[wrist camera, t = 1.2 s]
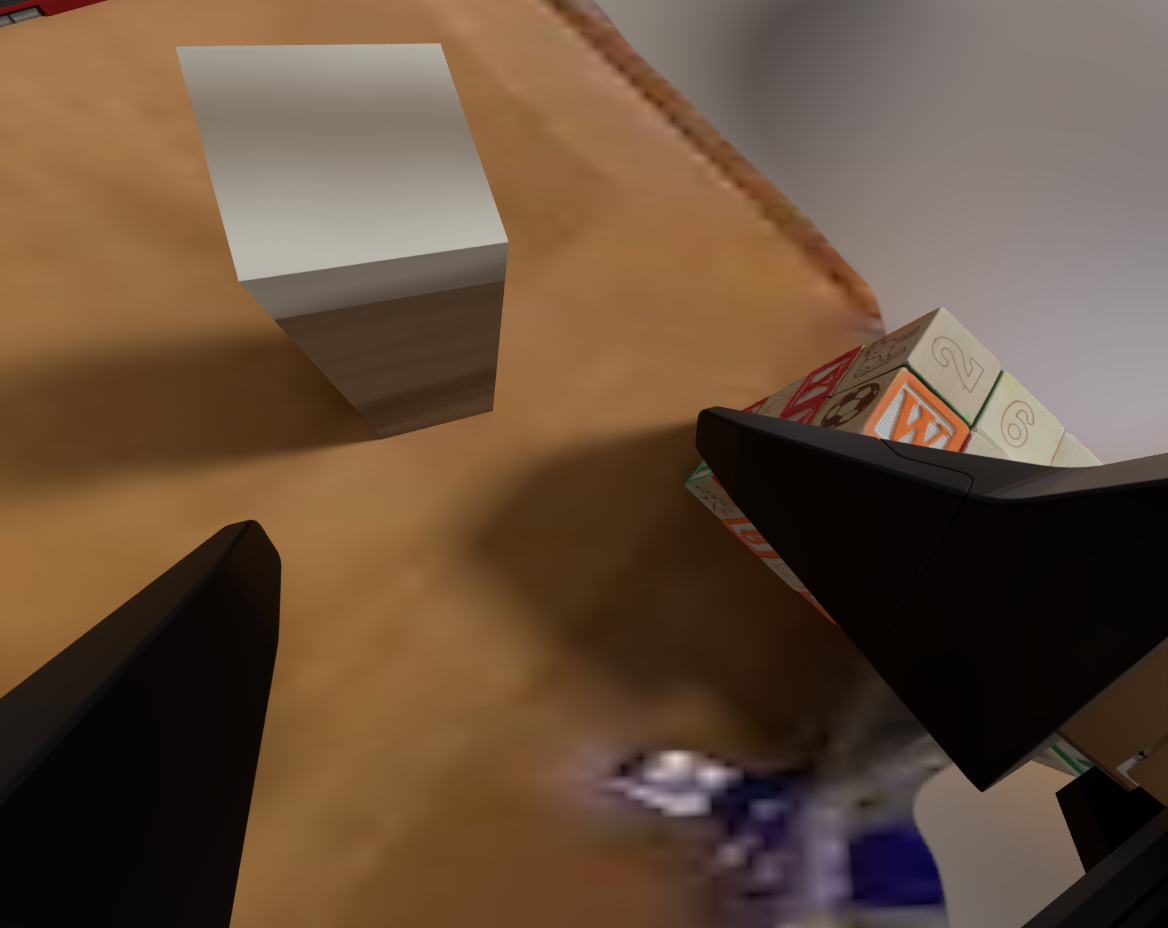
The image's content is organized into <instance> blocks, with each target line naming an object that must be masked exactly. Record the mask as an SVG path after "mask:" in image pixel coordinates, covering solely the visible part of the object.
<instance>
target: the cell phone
mask: <svg viewBox="0 0 1168 928" xmlns="http://www.w3.org/2000/svg"><path fill="white" fill-rule="evenodd" d="M102 1H106V0H0V27H3V26H7V25H10V24H14V23H18V22H21V21H25V20H28V19H32V18H36V17H39V16H43V15H47V16H52V15H55V14H59V13H63V12H66V11H70V10H73V9H77V8H81V7H84V6H88V5H91V4H95V3H98V2H102Z"/></svg>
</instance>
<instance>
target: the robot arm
mask: <svg viewBox="0 0 1168 928" xmlns="http://www.w3.org/2000/svg"><path fill="white" fill-rule="evenodd" d="M695 442H696V448H697V450H698V452H699V453H700V455H701V456H702V458H703V459H704V461H705V462H706V464H707V465H708V467H709V468H710V470H711V471H712V473H713V474H714V476H715V477H716V479H717V480H718V481H719V483H720V484H721V486H722V487H723V489H724V490H725V492H726V493H727V494H728V496H729V497H730V499H731V500H732V501H733V502H734V503H735V505H736V506H737V507H738V508H739V509H740V511H741V512H742V513H743V514H744V515H745V517H746V518H747V519H748V520H749V521H750V522H751V524H752V525H753V526H754V527H755V528H756V530H757V531H758V532H759V533H760V534H761V535H762V537H763V538H764V539H765V540H766V541H767V542H768V544H769V545H770V546H771V547H772V548H773V550H774V551H775V552H776V553H777V554H778V555H779V557H780V558H781V559H782V560H783V561H784V562H785V564H786V565H787V566H788V567H789V568H790V570H791V571H792V572H793V573H794V574H795V575H796V577H797V578H798V579H799V580H800V581H801V582H802V584H803V585H804V586H805V587H806V588H807V590H808V591H809V592H810V593H811V594H812V595H813V597H814V598H815V599H816V600H817V601H818V603H819V604H820V605H821V606H822V607H823V608H824V610H825V611H826V612H827V613H828V614H829V615H830V617H831V618H832V619H833V620H834V621H835V623H836V624H837V625H838V626H839V627H840V628H841V630H842V631H843V632H844V633H845V634H846V635H847V637H848V638H849V639H850V640H851V641H852V643H853V644H854V645H855V646H856V647H857V648H858V650H859V651H860V652H861V653H862V654H863V655H864V657H865V658H866V659H867V660H868V661H869V662H871V665H872V666H873V668H874V669H875V670H876V671H877V672H878V674H879V675H880V676H881V677H882V678H883V679H884V681H885V682H886V683H887V684H888V685H889V687H890V688H891V689H892V690H893V691H894V692H895V694H896V695H897V696H898V697H899V698H900V700H901V701H902V702H903V703H904V704H905V705H906V707H907V708H908V709H909V710H910V711H911V712H912V714H913V715H914V716H915V717H916V718H917V720H918V721H919V722H920V723H921V724H922V725H923V727H924V728H925V729H926V730H927V731H928V733H929V734H930V735H931V736H932V737H933V738H934V740H935V741H936V742H937V743H938V744H939V745H940V747H941V748H942V749H943V750H944V751H945V753H946V754H947V755H948V756H949V757H950V758H951V760H952V761H953V762H954V763H955V764H956V766H957V767H958V768H959V769H960V770H961V771H962V772H963V774H964V775H965V776H966V777H967V778H968V779H969V780H970V782H971V783H972V784H973V785H974V786H975V787H976V788H977V789H978V790H980V791H981V792H984V791H986V790H987V789H989V788H990V787H992V786H993V785H995V784H996V783H998V782H999V781H1001V780H1002V779H1004V778H1005V777H1007V776H1008V775H1010V774H1011V773H1013V772H1014V771H1016V770H1017V769H1019V768H1020V767H1022V766H1023V765H1025V764H1026V763H1028V762H1029V761H1031V760H1032V759H1034V758H1035V757H1037V756H1038V755H1040V754H1041V753H1043V752H1044V751H1046V750H1047V749H1049V748H1050V747H1051V746H1053V745H1054V744H1056V743H1057V742H1059V741H1060V740H1062V739H1063V740H1065V741H1066V742H1067V743H1068V744H1069V745H1071V746H1072V747H1073V748H1074V749H1076V750H1077V751H1078V752H1079V753H1081V754H1082V755H1083V756H1084V757H1085V758H1087V759H1088V760H1089V761H1090V762H1092V763H1093V764H1094V766H1092V767H1091V768H1090V769H1088V770H1087V771H1085V772H1084V773H1083V774H1081V775H1080V776H1079V777H1077V778H1076V779H1074V780H1073V781H1072V782H1070V783H1069V784H1067V785H1066V786H1065V787H1063V788H1062V789H1061V790H1059V791H1058V792H1056V793H1055V794H1056V796H1057V799H1058V802H1059V805H1060V807H1061V810H1062V812H1063V815H1064V817H1065V820H1066V823H1067V826H1068V828H1069V831H1070V833H1071V836H1072V839H1073V841H1074V844H1075V846H1076V849H1077V852H1078V854H1079V857H1080V860H1081V862H1082V865H1083V867H1084V870H1085V872H1086V874H1085V875H1084V876H1083V877H1082V878H1080V879H1079V880H1078V881H1077V882H1075V883H1074V884H1073V885H1072V886H1071V887H1069V888H1068V889H1067V890H1066V891H1065V892H1063V893H1062V894H1061V895H1060V896H1059V897H1057V898H1056V899H1055V900H1054V901H1053V902H1051V903H1050V904H1049V905H1048V906H1047V907H1045V908H1044V909H1043V910H1042V911H1041V912H1039V913H1038V914H1037V915H1036V916H1035V917H1033V918H1032V919H1031V920H1030V921H1028V922H1027V923H1026V924H1025V925H1024V926H1022V927H1021V928H1168V453H1164V454H1159V455H1154V456H1148V457H1144V458H1138V459H1133V460H1128V461H1122V462H1117V463H1112V464H1106V465H1100V466H1090V467H1054V466H1046V465H1038V464H1032V463H1025V462H1019V461H1012V460H1006V459H1000V458H993V457H987V456H980V455H974V454H967V453H961V452H955V451H949V450H943V449H937V448H931V447H926V446H920V445H915V444H909V443H904V442H899V441H893V440H888V439H883V438H881V439H878V438H877V437H873V436H867V435H862V434H857V433H852V432H847V431H842V430H837V429H832V428H826V427H821V426H816V425H811V424H806V423H801V422H796V421H791V420H785V419H780V418H775V417H770V416H765V415H760V414H755V413H750V412H744V411H739V410H734V409H729V408H724V407H719V406H716V407H711V408H707V409H703V410H702V411H700V413H699V415H698V421H697V430H696V440H695ZM280 591H281V559H280V556H279V553H278V551H277V550H276V548H275V547H274V545H273V543H272V542H271V540H270V539H269V537H268V536H267V534H266V532H265V531H264V529H263V528H262V526H261V525H260V524H259V523H258V522H257V521H255V520H247V521H242V522H238V523H234V524H230V525H227V526H225V527H223V528H222V529H221V530H220V531H218V532H217V533H216V534H214V535H213V536H212V537H210V538H209V539H208V540H206V541H205V542H204V543H203V544H201V545H200V546H199V547H197V548H196V549H195V550H193V551H192V552H191V553H190V554H188V555H187V556H186V557H184V558H183V559H182V560H180V561H179V562H178V563H176V564H175V565H174V566H173V567H171V568H170V569H169V570H167V571H166V572H165V573H163V574H162V575H161V576H160V577H158V578H157V579H156V580H154V581H153V582H152V583H150V584H149V585H148V586H146V587H145V588H144V589H143V590H141V591H140V592H139V593H137V594H136V595H135V596H133V597H132V598H131V599H130V600H128V601H127V602H126V603H124V604H123V605H122V606H120V607H119V608H118V609H116V610H115V611H114V612H113V613H111V614H110V615H109V616H107V617H106V618H105V619H103V620H102V621H101V622H100V623H98V624H97V625H96V626H94V627H93V628H92V629H90V630H89V631H88V632H86V633H85V634H84V635H83V636H81V637H80V638H79V639H77V640H76V641H75V642H73V643H72V644H71V645H70V646H68V647H67V648H66V649H64V650H63V651H62V652H60V653H59V654H58V655H56V656H55V657H54V658H53V659H51V660H50V661H49V662H47V663H46V664H45V665H43V666H42V667H41V668H39V669H38V670H37V671H36V672H34V673H33V674H32V675H30V676H29V677H28V678H26V679H25V680H24V681H23V682H21V683H20V684H19V685H17V686H16V687H15V688H13V689H12V690H11V691H9V692H8V693H7V694H6V695H4V696H3V697H2V698H0V928H229V926H230V920H231V915H232V909H233V903H234V897H235V891H236V886H237V880H238V874H239V868H240V862H241V857H242V851H243V845H244V839H245V833H246V828H247V822H248V816H249V810H250V804H251V799H252V793H253V787H254V781H255V775H256V770H257V764H258V758H259V752H260V746H261V741H262V735H263V729H264V723H265V717H266V712H267V706H268V700H269V694H270V688H271V683H272V677H273V671H274V665H275V659H276V654H277V647H278V639H279V621H280Z"/></svg>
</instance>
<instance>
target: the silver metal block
mask: <svg viewBox="0 0 1168 928" xmlns="http://www.w3.org/2000/svg"><path fill="white" fill-rule="evenodd" d="M176 50H177V54H178V58H179V61H180V65H181V69H182V72H183V76H184V80H185V84H186V87H187V91H188V95H189V98H190V102H191V106H192V109H193V113H194V117H195V121H196V124H197V128H198V132H199V135H200V139H201V143H202V147H203V150H204V154H205V158H206V161H207V165H208V169H209V172H210V176H211V180H212V184H213V187H214V191H215V195H216V198H217V202H218V206H219V209H220V213H221V217H222V221H223V224H224V228H225V232H226V235H227V239H228V243H229V247H230V250H231V254H232V258H233V261H234V265H235V269H236V272H237V276H238V280H239V282H240V283H241V284H242V285H243V286H244V288H245V289H246V290H247V291H248V292H249V293H250V294H251V295H252V296H253V297H254V298H255V300H256V301H257V302H258V303H259V304H260V305H261V306H262V307H263V308H264V309H265V311H266V312H267V313H268V314H269V315H270V316H271V317H272V318H273V319H274V320H275V321H276V323H277V324H278V325H279V326H280V327H281V328H282V329H283V330H284V331H285V332H286V334H287V335H288V336H289V337H290V338H291V339H292V340H293V341H294V342H295V343H296V344H297V346H298V347H299V348H300V349H301V350H302V351H303V352H304V353H305V354H306V355H307V357H308V358H309V359H310V360H311V361H312V362H313V363H314V364H315V365H316V366H317V368H318V369H319V370H320V371H321V372H322V373H323V374H324V375H325V376H326V377H327V378H328V380H329V381H330V382H331V383H332V384H333V385H334V386H335V387H336V388H337V389H338V391H339V392H340V393H341V394H342V395H343V396H344V397H345V398H346V399H347V400H348V401H349V403H350V404H351V405H352V406H353V407H354V408H355V409H356V410H357V411H358V412H359V414H360V415H361V416H362V417H363V418H364V419H365V420H366V421H367V422H368V423H369V424H370V426H371V427H372V428H373V429H374V430H375V431H376V432H377V433H378V434H379V435H380V437H381V438H382V439H385V438H388V437H392V436H396V435H400V434H404V433H408V432H412V431H416V430H420V429H423V428H427V427H431V426H435V425H439V424H443V423H447V422H451V421H455V420H458V419H462V418H466V417H470V416H474V415H478V414H482V413H486V412H490V411H493V402H494V391H495V380H496V370H497V359H498V348H499V338H500V327H501V316H502V306H503V295H504V284H505V273H506V263H507V252H508V239H507V236H506V234H505V231H504V228H503V225H502V222H501V219H500V216H499V213H498V210H497V207H496V205H495V202H494V199H493V196H492V193H491V190H490V187H489V184H488V181H487V178H486V176H485V173H484V170H483V167H482V164H481V161H480V158H479V155H478V152H477V149H476V147H475V144H474V141H473V138H472V135H471V132H470V129H469V126H468V123H467V120H466V118H465V115H464V112H463V109H462V106H461V103H460V100H459V97H458V94H457V91H456V89H455V86H454V83H453V80H452V77H451V74H450V71H449V68H448V65H447V62H446V60H445V57H444V54H443V51H442V48H441V45H440V44H362V45H275V46H187V47H176Z"/></svg>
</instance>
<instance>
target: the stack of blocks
mask: <svg viewBox="0 0 1168 928" xmlns="http://www.w3.org/2000/svg"><path fill="white" fill-rule="evenodd" d="M742 411H744V412H750V413H755V414H760V415H765V416H770V417H775V418H780V419H785V420H791V421H796V422H801V423H806V424H811V425H816V426H821V427H826V428H832V429H837V430H842V431H847V432H852V433H857V434H862V435H867V436H873V437H877V438H878V439H881V438H883V439H888V440H893V441H899V442H904V443H909V444H915V445H920V446H926V447H931V448H937V449H943V450H949V451H955V452H961V453H967V454H974V455H980V456H987V457H993V458H1000V459H1006V460H1012V461H1019V462H1025V463H1032V464H1038V465H1046V466H1054V467H1090V466H1100V465H1104V464H1102V462H1101V461H1099V460H1098V459H1097V458H1096V457H1095V456H1094V455H1093V454H1092V453H1091V452H1090V451H1089V450H1088V449H1087V448H1086V447H1085V446H1084V445H1083V444H1082V443H1081V442H1080V441H1079V440H1077V439H1076V438H1075V437H1074V436H1072V435H1071V434H1070V433H1068V432H1066V431H1065V430H1064V428H1063V426H1062V425H1061V424H1060V423H1059V421H1058V420H1057V419H1056V418H1055V417H1054V416H1053V415H1052V414H1050V413H1049V412H1048V411H1047V410H1046V409H1045V408H1044V407H1043V406H1042V405H1041V404H1040V403H1039V402H1038V401H1037V400H1036V399H1035V398H1034V397H1033V396H1032V395H1031V394H1030V393H1029V392H1028V391H1027V390H1025V388H1024V387H1022V386H1021V385H1020V384H1019V383H1018V382H1017V381H1016V380H1015V379H1014V378H1013V377H1012V376H1011V375H1010V374H1009V373H1008V372H1006V371H1003V370H1001V364H1000V363H999V362H998V360H997V359H996V358H995V357H994V356H993V355H992V354H991V353H990V352H989V351H988V350H987V349H986V348H985V347H984V346H983V345H982V344H981V343H980V342H979V341H978V340H977V339H976V338H975V337H973V336H972V335H971V334H970V333H969V332H968V331H967V330H966V329H965V328H964V327H963V325H962V324H961V323H960V322H959V321H958V320H956V318H955V317H954V316H953V315H952V314H951V313H950V312H948V311H947V310H945V309H944V308H937V309H936V310H934V311H932V312H930V313H928V314H926V315H924V316H922V317H921V318H919V319H917V320H915V321H913V322H911V323H909V324H908V325H906V326H903V327H902V328H900V329H898V330H896V331H894V332H892V333H891V334H889V335H887V336H885V337H883V338H881V339H879V340H877V341H876V342H874V343H872V344H871V345H869V346H867V347H866V346H864V345H861V346H859V347H857V348H855V349H853V350H852V351H849V352H847V353H845V354H844V355H842V356H840V357H838V358H836V359H835V360H833V361H831V362H830V363H827V364H825V365H823V366H822V367H820V368H818V369H816V370H815V371H813V372H811V373H810V374H809V375H808V376H806V377H804V378H802V379H800V380H799V381H797V382H795V383H793V384H791V385H790V386H788V387H786V388H784V389H782V390H780V391H779V392H777V393H775V394H773V395H772V396H769V397H767V398H765V399H763V400H761V401H759V402H757V403H755V404H754V405H752V406H750V407H748V408H746V409H744V410H742ZM684 485H685V487H686V488H687V489H688V490H689V491H691V492H692V493H693V494H694V495H695V496H696V497H697V498H698V499H699V500H700V501H701V502H702V503H703V504H704V505H705V506H706V507H708V508H709V509H710V510H711V511H712V512H713V513H714V514H715V515H716V516H717V517H718V518H719V519H720V520H721V522H722V523H723V524H724V525H725V526H726V527H727V528H728V529H729V530H730V531H731V532H732V533H733V534H734V535H735V536H737V537H738V538H739V539H740V540H741V541H742V542H743V543H744V544H745V545H746V546H747V547H748V548H749V549H751V550H752V551H753V552H754V553H755V554H756V555H757V556H759V557H760V559H761V560H762V561H763V562H764V563H765V564H766V565H767V566H768V567H769V568H770V569H772V570H773V571H774V572H775V573H776V574H777V575H778V576H779V577H780V578H781V579H782V580H784V581H785V582H786V583H787V584H788V585H789V586H790V587H791V588H792V589H794V590H795V591H798V592H800V593H801V595H802V596H803V597H804V598H806V599H807V600H808V601H809V602H810V603H812V604H813V605H814V606H815V607H816V608H817V609H818V610H819V611H820V612H821V613H822V614H823V615H824V616H825V617H826V618H828V619H829V620H830V621H831V622H832V623H834V624H836V623H835V621H834V620H833V619H832V618H831V617H830V615H829V614H828V613H827V612H826V611H825V610H824V608H823V607H822V606H821V605H820V604H819V603H818V601H817V600H816V599H815V598H814V597H813V595H812V594H811V593H810V592H809V591H808V590H807V588H806V587H805V586H804V585H803V584H802V582H801V581H800V580H799V579H798V578H797V577H796V575H795V574H794V573H793V572H792V571H791V570H790V568H789V567H788V566H787V565H786V564H785V562H784V561H783V560H782V559H781V558H780V557H779V555H778V554H777V553H776V552H775V551H774V550H773V548H772V547H771V546H770V545H769V544H768V542H767V541H766V540H765V539H764V538H763V537H762V535H761V534H760V533H759V532H758V531H757V530H756V528H755V527H754V526H753V525H752V524H751V522H750V521H749V520H748V519H747V518H746V517H745V515H744V514H743V513H742V512H741V511H740V509H739V508H738V507H737V506H736V505H735V503H734V502H733V501H732V500H731V499H730V497H729V496H728V494H727V493H726V492H725V490H724V489H723V487H722V486H721V484H720V483H719V481H718V480H717V479H716V477H715V476H714V474H713V473H712V471H711V470H710V468H709V467H708V465H707V464H706V462H705V461H704V459H703V460H702V462H701V463H700V464H699V465H698V467H697V468H696V469H695V471H694V472H693V473H692V474H691V476H690V477H689V478H688V479H687V481H686V482H685V483H684ZM836 625H837V624H836ZM837 626H838V625H837ZM838 627H839V626H838ZM839 628H840V627H839ZM840 629H841V628H840ZM1032 761H1035V762H1037V763H1040V764H1043V765H1045V766H1048V767H1051V768H1054V769H1056V770H1058V771H1061V772H1064V773H1066V774H1069V775H1072V776H1075V777H1079V776H1080V775H1081V774H1083V773H1084V772H1085V771H1087V770H1088V769H1090V768H1091V767H1092V766H1094V764H1093V763H1092V762H1090V761H1089V760H1088V759H1087V758H1085V757H1084V756H1083V755H1082V754H1081V753H1079V752H1078V751H1077V750H1076V749H1074V748H1073V747H1072V746H1071V745H1069V744H1068V743H1067V742H1066V741H1065V740H1063V739H1062V740H1060V741H1059V742H1057V743H1056V744H1054V745H1053V746H1051V747H1050V748H1049V749H1047V750H1046V751H1044V752H1043V753H1041V754H1040V755H1038V756H1037V757H1035V758H1034V759H1032Z"/></svg>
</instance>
